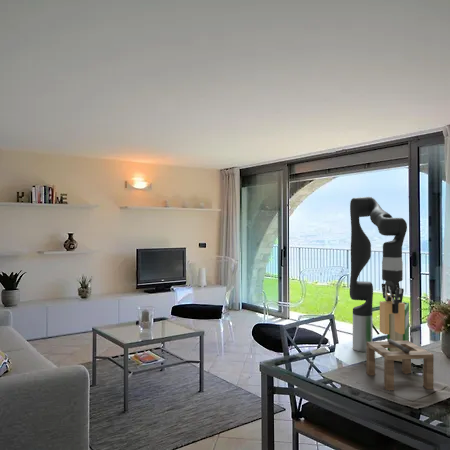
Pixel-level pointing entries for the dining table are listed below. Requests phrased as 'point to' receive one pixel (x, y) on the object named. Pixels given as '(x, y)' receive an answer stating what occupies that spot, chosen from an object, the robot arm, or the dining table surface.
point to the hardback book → (395, 335)
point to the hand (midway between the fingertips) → (392, 311)
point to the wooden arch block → (399, 317)
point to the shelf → (406, 355)
